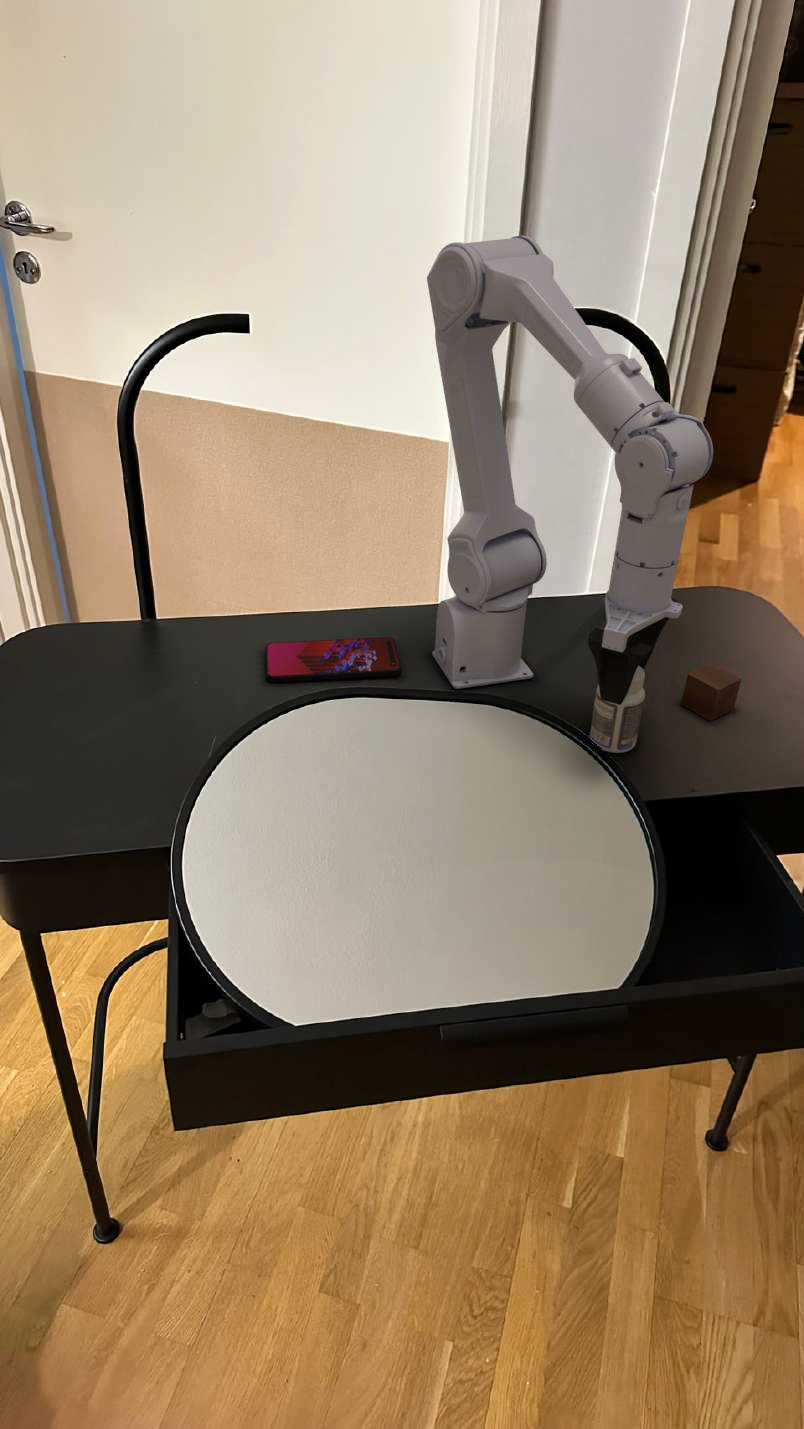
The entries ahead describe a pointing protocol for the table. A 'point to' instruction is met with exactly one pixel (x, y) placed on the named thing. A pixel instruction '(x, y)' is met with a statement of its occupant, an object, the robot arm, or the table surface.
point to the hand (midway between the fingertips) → (623, 682)
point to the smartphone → (332, 659)
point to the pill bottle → (619, 718)
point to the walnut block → (711, 691)
